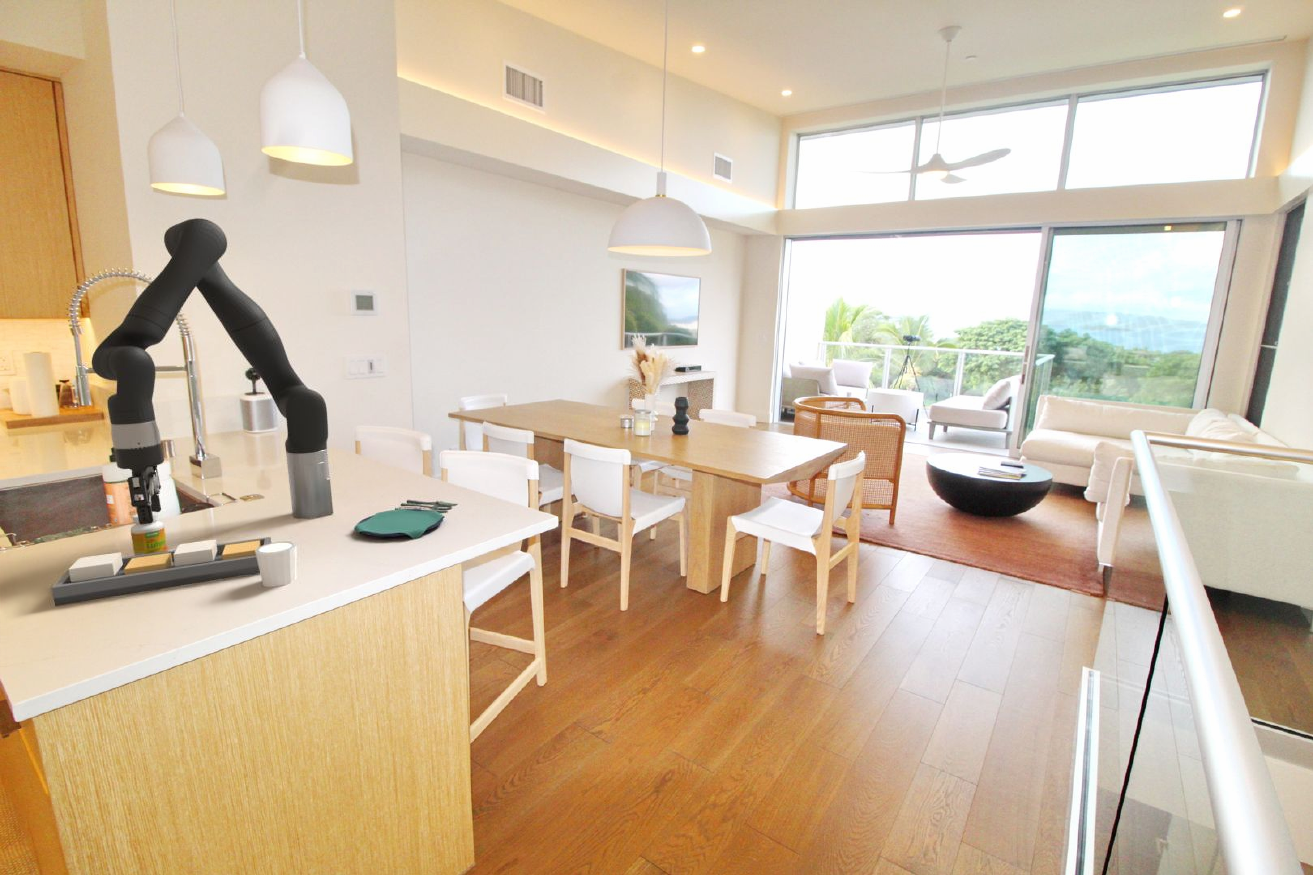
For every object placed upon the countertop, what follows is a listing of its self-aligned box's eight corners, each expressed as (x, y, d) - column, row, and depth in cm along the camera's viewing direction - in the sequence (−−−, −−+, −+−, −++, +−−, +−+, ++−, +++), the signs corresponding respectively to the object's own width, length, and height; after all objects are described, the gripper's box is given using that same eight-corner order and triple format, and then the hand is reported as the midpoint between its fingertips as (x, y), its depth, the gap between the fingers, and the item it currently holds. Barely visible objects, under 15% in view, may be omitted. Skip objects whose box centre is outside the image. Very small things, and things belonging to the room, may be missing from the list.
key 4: (122, 564, 116) (120, 552, 116) (114, 575, 111) (112, 563, 111) (81, 570, 113) (79, 557, 113) (71, 582, 108) (68, 569, 108)
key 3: (172, 564, 120) (170, 552, 120) (166, 575, 115) (164, 563, 115) (134, 570, 117) (132, 558, 117) (126, 581, 112) (124, 569, 112)
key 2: (217, 550, 124) (215, 539, 123) (213, 560, 119) (211, 549, 118) (180, 556, 121) (179, 544, 120) (175, 566, 116) (173, 554, 115)
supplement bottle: (149, 563, 124) (142, 519, 122) (128, 561, 125) (121, 517, 124) (174, 554, 129) (168, 511, 128) (154, 552, 131) (148, 509, 129)
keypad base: (272, 551, 131) (270, 536, 131) (269, 571, 121) (267, 555, 121) (77, 581, 116) (74, 564, 115) (54, 606, 106) (51, 587, 105)
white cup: (270, 573, 120) (267, 541, 119) (306, 573, 121) (303, 540, 119) (251, 588, 113) (246, 554, 112) (289, 587, 114) (285, 553, 113)
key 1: (261, 551, 128) (259, 540, 127) (259, 561, 123) (257, 549, 122) (227, 556, 125) (225, 545, 124) (223, 566, 120) (222, 554, 119)
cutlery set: (339, 540, 139) (338, 530, 139) (402, 504, 169) (401, 496, 168) (421, 544, 138) (421, 534, 138) (470, 507, 168) (470, 499, 167)
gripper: (153, 447, 119) (167, 524, 123) (166, 435, 131) (178, 505, 135) (104, 452, 116) (119, 531, 119) (122, 439, 128) (135, 511, 131)
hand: (150, 517), depth 127 cm, fingers open, 8 cm apart
